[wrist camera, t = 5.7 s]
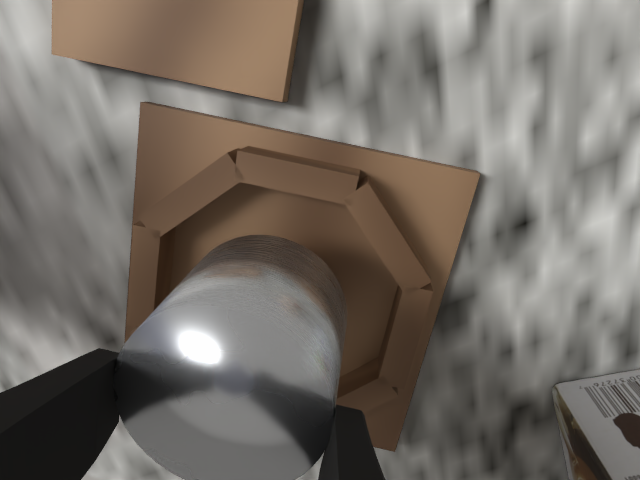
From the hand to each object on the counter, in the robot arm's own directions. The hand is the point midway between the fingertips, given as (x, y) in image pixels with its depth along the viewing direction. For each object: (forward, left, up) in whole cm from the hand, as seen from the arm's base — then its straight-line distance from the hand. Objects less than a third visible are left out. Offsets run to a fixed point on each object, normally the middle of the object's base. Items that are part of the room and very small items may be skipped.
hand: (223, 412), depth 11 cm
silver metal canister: (0, +1, -4) cm, 4 cm away
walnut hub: (0, 0, -8) cm, 8 cm away
